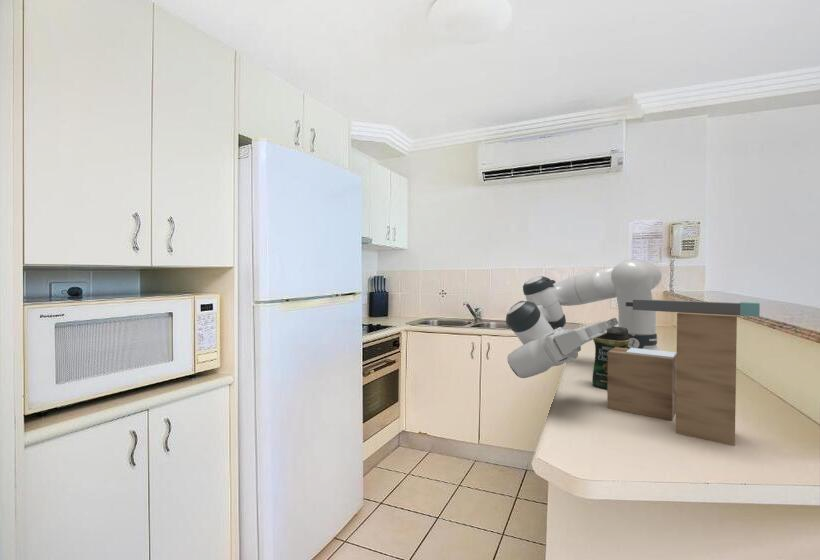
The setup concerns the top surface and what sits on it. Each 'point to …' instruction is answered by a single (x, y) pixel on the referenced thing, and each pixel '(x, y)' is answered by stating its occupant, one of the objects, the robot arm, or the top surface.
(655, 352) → the notepad
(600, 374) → the coffee jar
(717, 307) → the marker
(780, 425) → the top surface
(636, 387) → the walnut stand
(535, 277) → the robot arm
